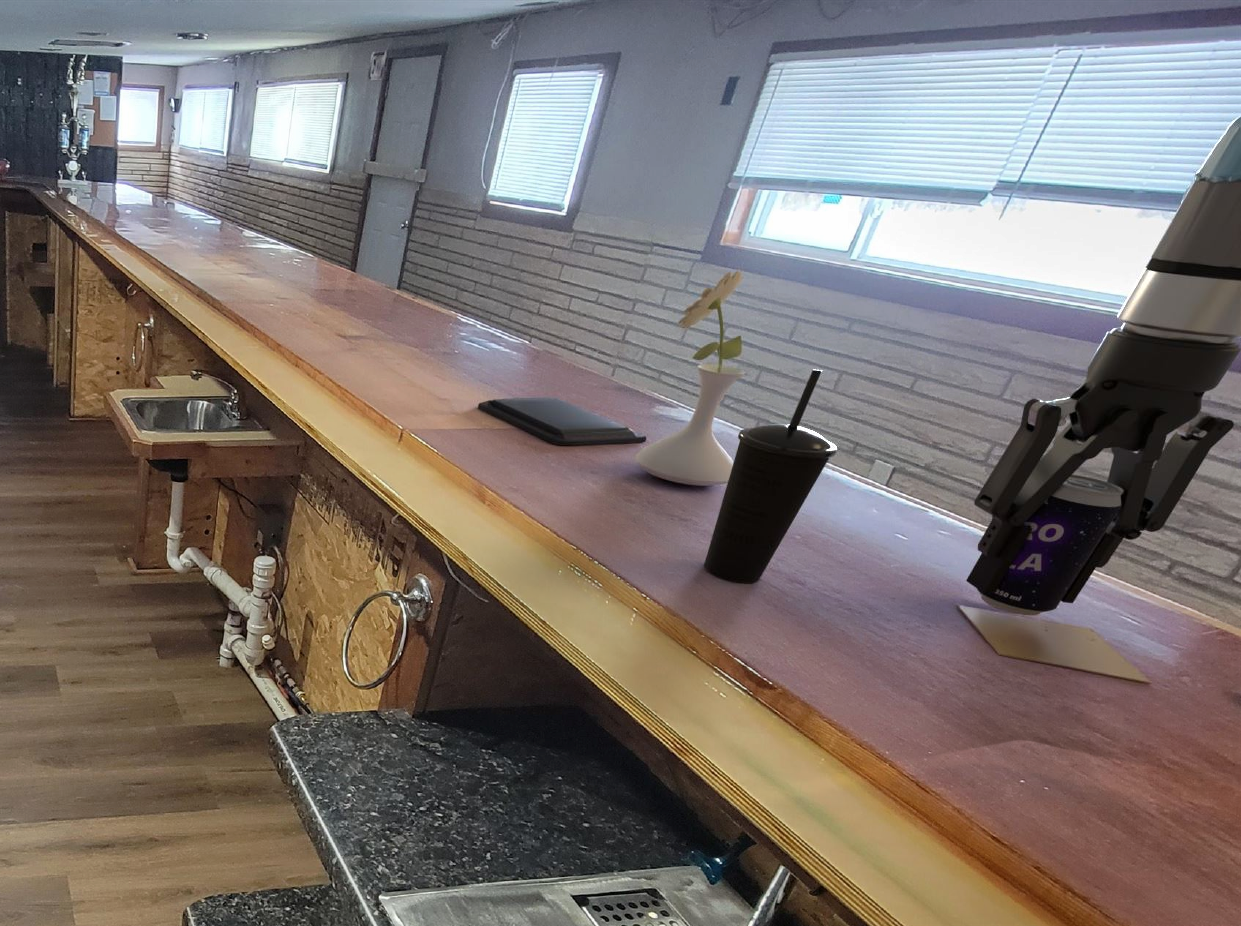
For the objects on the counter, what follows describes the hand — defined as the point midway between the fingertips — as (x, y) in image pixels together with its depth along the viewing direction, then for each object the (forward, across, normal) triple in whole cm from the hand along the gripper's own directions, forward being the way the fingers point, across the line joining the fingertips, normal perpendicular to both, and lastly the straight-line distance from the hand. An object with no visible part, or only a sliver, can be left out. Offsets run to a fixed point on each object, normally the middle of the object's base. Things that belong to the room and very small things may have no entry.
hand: (1018, 591), depth 82 cm
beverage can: (+2, 0, 0) cm, 2 cm away
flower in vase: (+2, +19, -32) cm, 37 cm away
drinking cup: (+2, +23, -2) cm, 23 cm away
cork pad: (+2, 0, +6) cm, 6 cm away
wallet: (+2, +29, -53) cm, 61 cm away
